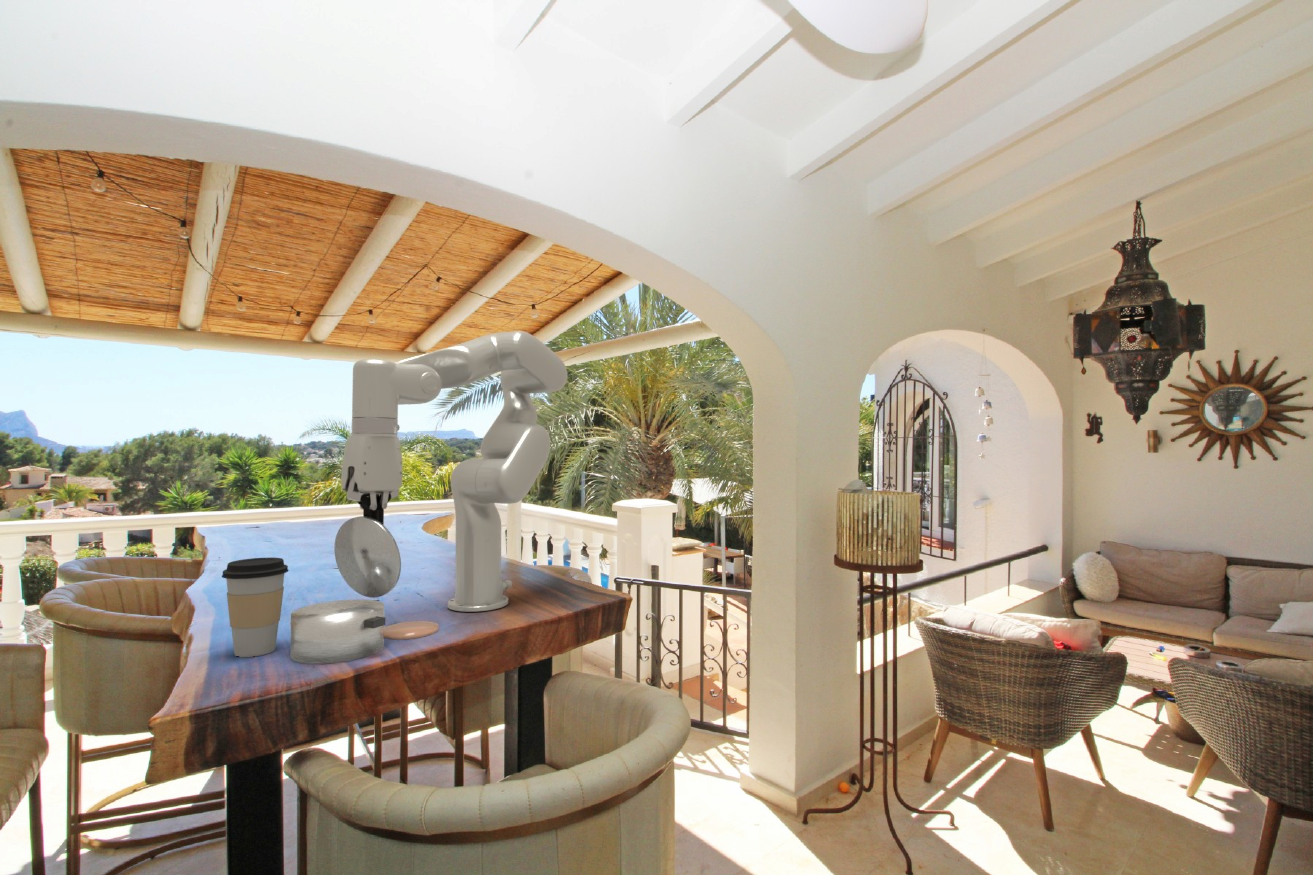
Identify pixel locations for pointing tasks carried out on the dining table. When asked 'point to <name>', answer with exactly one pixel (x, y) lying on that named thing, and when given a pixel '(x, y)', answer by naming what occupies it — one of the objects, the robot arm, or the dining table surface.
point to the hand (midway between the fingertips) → (373, 531)
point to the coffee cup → (255, 603)
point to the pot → (337, 631)
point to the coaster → (410, 630)
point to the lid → (367, 556)
